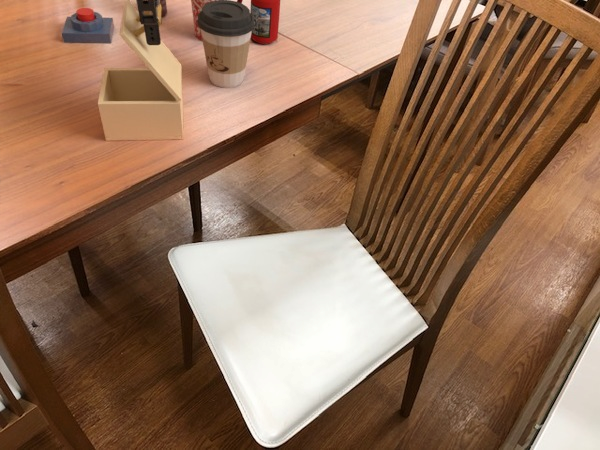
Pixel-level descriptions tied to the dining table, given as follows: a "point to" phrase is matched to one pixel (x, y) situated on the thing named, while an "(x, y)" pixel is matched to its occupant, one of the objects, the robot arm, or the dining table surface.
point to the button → (85, 14)
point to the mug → (197, 3)
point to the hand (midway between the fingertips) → (154, 34)
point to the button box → (88, 30)
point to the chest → (138, 106)
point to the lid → (151, 50)
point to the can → (163, 8)
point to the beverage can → (265, 20)
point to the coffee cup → (226, 40)
